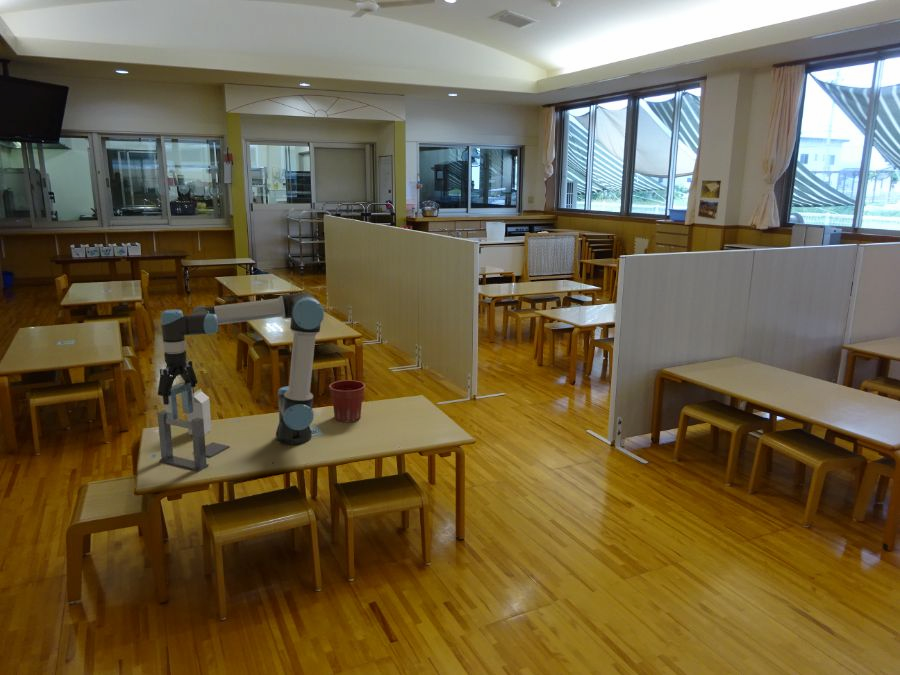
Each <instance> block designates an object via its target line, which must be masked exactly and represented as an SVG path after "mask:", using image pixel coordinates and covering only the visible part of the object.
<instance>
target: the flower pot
mask: <svg viewBox="0 0 900 675" xmlns="http://www.w3.org/2000/svg"><path fill="white" fill-rule="evenodd" d="M328 387H329V389H330V393H331V398H332V405H333V414H334V416H333V417H334V420H336V421H338V420H339V421H338V422H344V421H352V422H354V421H353V420H356V419H358V418H359V419H361V416H362V415H361V414H362V406H363V405H362V404H363V395H364V390H365V387H366V384H365V383H364V382H362V381H360V380H351V379H350V380H349V379H348V380H347V379H346V380H345V379H343V380H337V381H334V382H332V383H330V384H329V386H328ZM359 419H358V420H359ZM356 421H357V420H356Z"/></svg>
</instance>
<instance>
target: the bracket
mask: <svg viewBox="0 0 900 675" xmlns="http://www.w3.org/2000/svg"><path fill="white" fill-rule="evenodd" d="M179 394H181V401H182V402H181V404H182V413H184V414H187V413H188V414H189V413H192V412H193V401H192V389H191V382H190V383H189V382H185V381H182V382H180V383H179V382H178V383H176V384H173V385H172V388H171V390H170V394H169V395H170V396H171V401H172V413H170V412H167V419H169V420H176V419H179V414H178V404H177V403H178V402H177V395H179Z"/></svg>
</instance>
